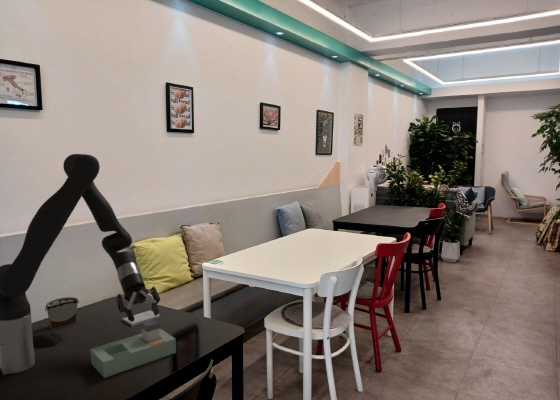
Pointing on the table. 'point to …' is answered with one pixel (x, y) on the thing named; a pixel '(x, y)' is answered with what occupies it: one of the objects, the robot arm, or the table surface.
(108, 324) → the table surface
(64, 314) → the food container
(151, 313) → the external hard drive
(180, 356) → the table surface
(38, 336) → the computer mouse
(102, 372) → the socket block
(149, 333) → the plug
